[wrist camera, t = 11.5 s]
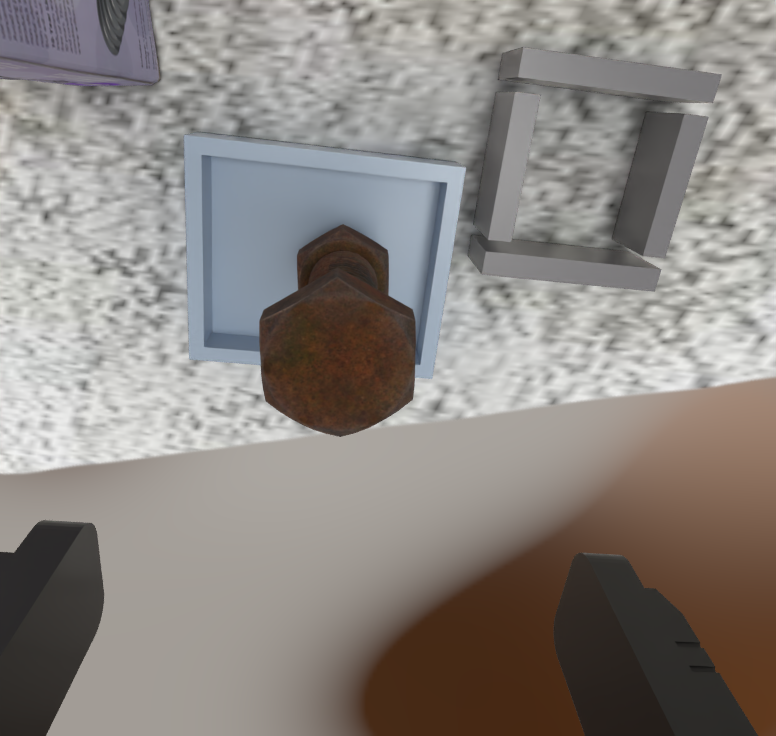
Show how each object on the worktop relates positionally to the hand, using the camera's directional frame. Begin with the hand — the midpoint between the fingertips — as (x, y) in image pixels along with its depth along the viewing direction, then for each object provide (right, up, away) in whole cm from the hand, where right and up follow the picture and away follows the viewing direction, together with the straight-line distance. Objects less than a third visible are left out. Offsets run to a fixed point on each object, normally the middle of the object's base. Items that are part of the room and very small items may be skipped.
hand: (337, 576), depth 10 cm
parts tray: (-3, +10, +24) cm, 26 cm away
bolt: (-2, +10, +23) cm, 25 cm away
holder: (+11, +14, +22) cm, 29 cm away
